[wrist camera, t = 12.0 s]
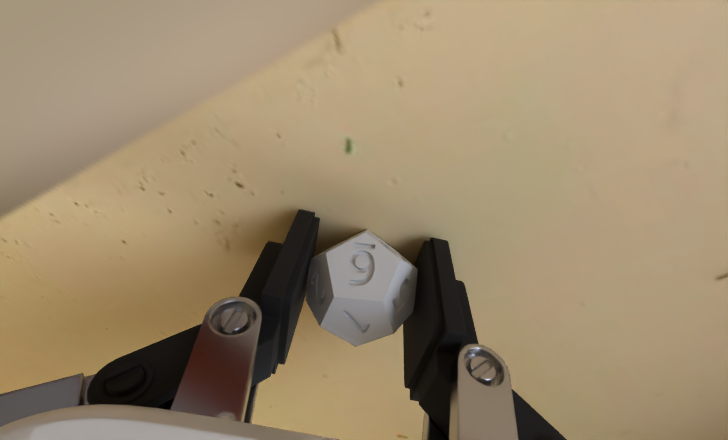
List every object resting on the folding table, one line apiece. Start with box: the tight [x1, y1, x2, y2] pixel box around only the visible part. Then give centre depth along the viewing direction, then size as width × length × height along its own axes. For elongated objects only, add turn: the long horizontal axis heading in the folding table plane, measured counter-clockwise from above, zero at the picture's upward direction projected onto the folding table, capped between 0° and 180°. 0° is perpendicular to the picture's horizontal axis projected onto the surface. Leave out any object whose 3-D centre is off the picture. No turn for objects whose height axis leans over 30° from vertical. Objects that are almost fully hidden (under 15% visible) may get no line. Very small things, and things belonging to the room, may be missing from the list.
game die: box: [306, 230, 418, 347], centre depth 11 cm, size 4×4×3 cm
